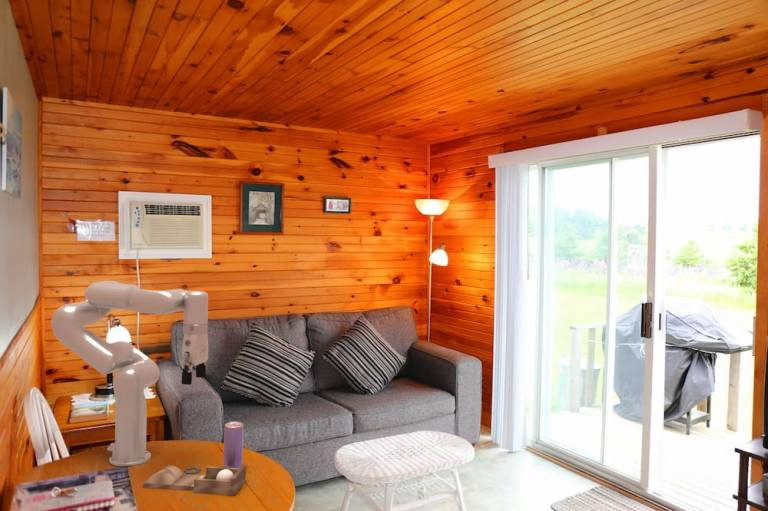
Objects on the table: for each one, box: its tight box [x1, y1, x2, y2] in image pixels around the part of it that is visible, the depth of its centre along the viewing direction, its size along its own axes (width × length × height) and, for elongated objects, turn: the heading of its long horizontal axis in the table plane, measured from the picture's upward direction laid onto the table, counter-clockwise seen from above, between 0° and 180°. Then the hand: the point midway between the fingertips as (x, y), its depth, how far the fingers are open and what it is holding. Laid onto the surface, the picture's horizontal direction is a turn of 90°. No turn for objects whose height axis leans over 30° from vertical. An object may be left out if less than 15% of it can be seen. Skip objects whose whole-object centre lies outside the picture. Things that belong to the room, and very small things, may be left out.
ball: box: [216, 469, 233, 480], centre depth 171 cm, size 5×5×5 cm
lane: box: [142, 465, 247, 497], centre depth 172 cm, size 28×10×9 cm, turn 85°
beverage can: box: [222, 421, 244, 468], centre depth 183 cm, size 6×6×15 cm
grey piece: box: [183, 466, 202, 475], centre depth 182 cm, size 5×5×1 cm
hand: (193, 380), depth 187 cm, fingers open, 9 cm apart
